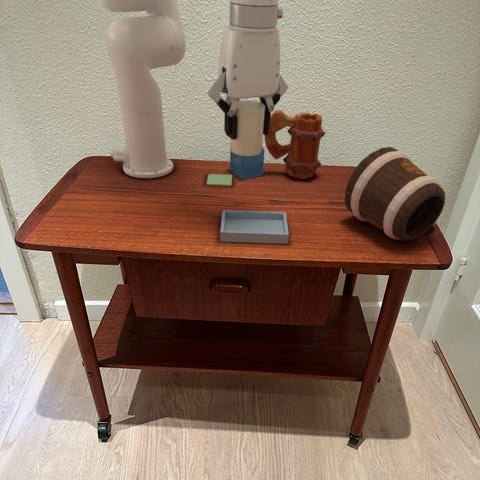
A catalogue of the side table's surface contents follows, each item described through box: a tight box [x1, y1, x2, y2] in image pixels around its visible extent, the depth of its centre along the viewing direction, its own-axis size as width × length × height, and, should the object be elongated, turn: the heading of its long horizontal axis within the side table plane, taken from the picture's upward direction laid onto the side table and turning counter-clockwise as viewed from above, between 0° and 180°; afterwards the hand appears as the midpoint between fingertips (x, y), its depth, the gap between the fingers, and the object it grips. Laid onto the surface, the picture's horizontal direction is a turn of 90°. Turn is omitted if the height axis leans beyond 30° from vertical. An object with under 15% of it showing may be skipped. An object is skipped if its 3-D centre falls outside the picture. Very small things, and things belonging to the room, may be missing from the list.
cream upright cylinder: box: [230, 99, 265, 156], centre depth 79 cm, size 6×6×8 cm
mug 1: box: [264, 109, 326, 180], centre depth 104 cm, size 15×8×15 cm, turn 84°
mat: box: [206, 173, 233, 187], centre depth 104 cm, size 6×6×1 cm
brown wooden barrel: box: [344, 146, 446, 242], centre depth 85 cm, size 20×15×15 cm
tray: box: [219, 209, 290, 245], centre depth 86 cm, size 13×9×2 cm
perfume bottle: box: [229, 145, 265, 180], centre depth 104 cm, size 6×6×12 cm
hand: (246, 134), depth 79 cm, fingers closed on cream upright cylinder, 6 cm apart
